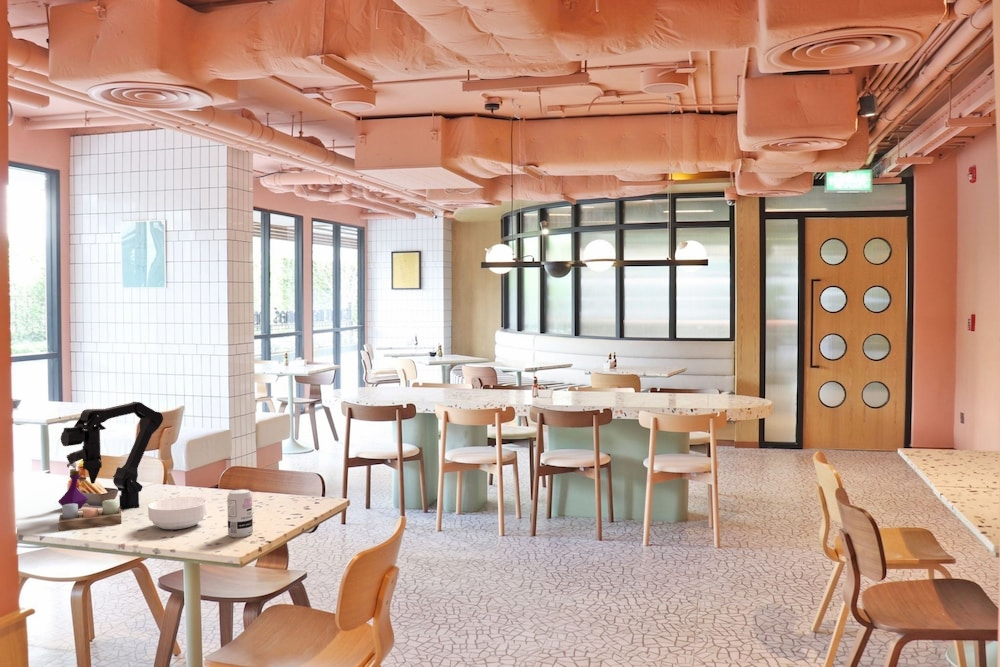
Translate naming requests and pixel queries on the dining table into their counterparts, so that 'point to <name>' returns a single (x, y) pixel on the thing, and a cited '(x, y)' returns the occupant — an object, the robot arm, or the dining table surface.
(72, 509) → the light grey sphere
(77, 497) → the perfume bottle
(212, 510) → the dining table surface
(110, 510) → the pale green rounded cube
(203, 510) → the bowl
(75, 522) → the wooden compartment tray
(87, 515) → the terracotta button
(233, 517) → the supplement can
